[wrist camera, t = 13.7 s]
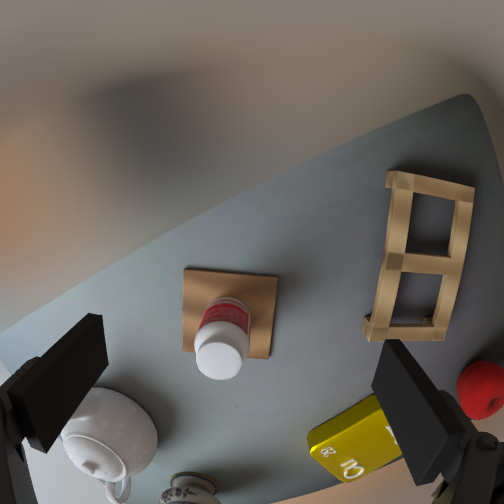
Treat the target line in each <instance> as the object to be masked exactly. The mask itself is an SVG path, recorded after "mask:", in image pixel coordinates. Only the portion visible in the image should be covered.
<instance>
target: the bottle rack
mask: <svg viewBox="0 0 504 504" xmlns="http://www.w3.org/2000/svg"><path fill="white" fill-rule="evenodd" d="M385 188H390V189H392V194H391V203H390V211H389V219H388V226H387V233H386V240H385V246H384V252H383V258H382V264H381V270H380V275H379V281H378V286H377V291H376V296H375V301H374V305H373V310H372V315H371V316H364V321H363V325H362V332H363V333H364V335H365V336H366V338H367V340H368V341H385V339H400V340H401V341H435V340H444V337H445V334H446V331H447V327H448V324H449V321H450V317H451V314H452V310H453V306H454V303H455V299H456V295H457V291H458V287H459V282H460V278H461V273H462V269H463V264H464V259H465V254H466V248H467V243H468V237H469V231H470V224H471V217H472V209H473V201H474V192H475V188H473V187H469V186H465V185H461V184H457V183H453V182H448V181H444V180H440V179H435V178H431V177H426V176H422V175H417V174H412V173H407V172H402V171H387V174H386V184H385ZM413 192H415V193H421V194H426V195H431V196H436V197H441V198H446V199H449V200H454V201H455V209H454V216H453V223H452V230H451V236H450V242H449V248H448V254H447V256H443V255H434V254H424V253H415V252H405V248H406V242H407V236H408V229H409V222H410V215H411V207H412V198H413ZM401 272H414V273H427V274H440V275H443V278H442V283H441V287H440V291H439V296H438V300H437V304H436V307H435V311H434V315H433V318H424V320H423V324H390V321H391V316H392V312H393V308H394V304H395V299H396V295H397V290H398V285H399V281H400V275H401Z"/></svg>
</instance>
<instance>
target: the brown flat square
mask: <svg viewBox="0 0 504 504" xmlns="http://www.w3.org/2000/svg"><path fill="white" fill-rule="evenodd" d="M277 284H278V277H277V276H265V275H253V274H241V273H230V272H219V271H208V270H197V269H186V268H185V269H184V275H183V351H187V352H195V348H194V342H195V337H196V334H197V331H198V329H199V326H200V323H201V320H202V318H203V315H204V312H205V310H206V308H207V306H208V305H209V304H210V303H211V302H212V301H214V300H216V299H218V298H222V297H230V298H235V299H237V300H239V301H241V302H242V303H243V304H244V305H245V306H246V307H247V309H248V310H249V313H250V316H251V332H250V352H249V355H248V358H257V359H268V358H269V350H270V342H271V334H272V326H273V318H274V310H275V301H276V293H277ZM195 353H196V352H195Z"/></svg>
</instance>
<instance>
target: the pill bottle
mask: <svg viewBox="0 0 504 504" xmlns="http://www.w3.org/2000/svg"><path fill="white" fill-rule="evenodd" d="M250 332H251V316H250V313H249V310H248V309H247V307H246V306H245V305H244V304H243V303H242V302H241V301H239V300H237V299H235V298H230V297H222V298H218V299H216V300H214V301H212V302H211V303H210V304H209V305H208V306H207V308H206V310H205V312H204V315H203V318H202V320H201V323H200V326H199V329H198V331H197V334H196V337H195V342H194V348H195V352H196V355H197V357H196V361H197V365H198V367H199V369H200V370H201V372H202V373H203V374H205V375H206V376H208V377H210V378H213V379H217V380H225V379H229V378H232V377H234V376H235V375H236V374H237V373H238V372H239V371H240V369H241V366H242V364H243V363H244V362H245V361H246V359H247V358H248V355H249V352H250Z"/></svg>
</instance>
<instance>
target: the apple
mask: <svg viewBox="0 0 504 504" xmlns="http://www.w3.org/2000/svg"><path fill="white" fill-rule="evenodd" d="M456 390H457V394H458V398H459V402H460V405H461V407H462V410H463V412H465V414H466V415H467V416H468V417H470V418H472V419H473V420H481V419H485V418H487V417H489V416H491V415H492V414H494V413H496V412H497V411H498V410H499V409H500V408H501V407H502V406H503V404H504V368H502V367H500V366H498V365H496V364H493V363H490V362H486V361H477V362H474V363H473V364H471V365H470V366H468V367H467V368H466V369H465V370H464V371H463V372H462V373H461V375H460V376H459V378H458V380H457V383H456Z"/></svg>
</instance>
